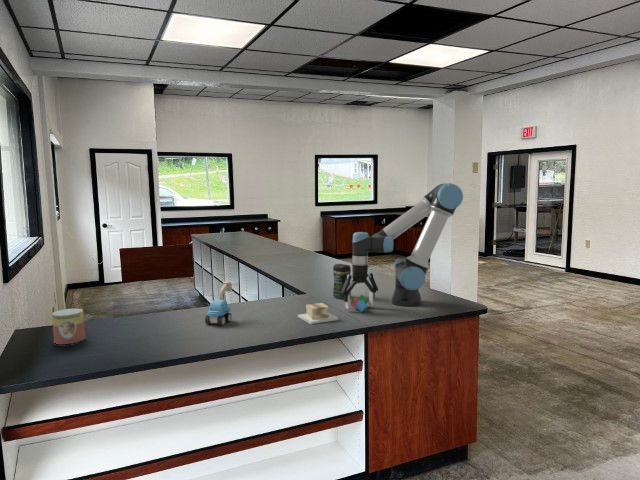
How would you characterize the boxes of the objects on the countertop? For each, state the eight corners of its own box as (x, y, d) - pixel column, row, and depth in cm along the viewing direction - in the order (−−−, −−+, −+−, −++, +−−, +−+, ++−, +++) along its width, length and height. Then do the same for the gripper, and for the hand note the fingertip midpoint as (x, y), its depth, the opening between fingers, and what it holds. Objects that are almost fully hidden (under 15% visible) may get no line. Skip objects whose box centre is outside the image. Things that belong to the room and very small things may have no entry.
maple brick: (322, 313, 226) (322, 302, 226) (328, 317, 219) (328, 306, 218) (306, 315, 223) (306, 304, 223) (312, 319, 216) (312, 308, 215)
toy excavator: (239, 317, 226) (238, 281, 224) (220, 327, 210) (219, 288, 208) (223, 315, 229) (221, 280, 227) (203, 325, 213) (202, 287, 211)
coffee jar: (330, 297, 263) (330, 263, 260) (341, 295, 268) (341, 262, 266) (342, 300, 255) (342, 266, 253) (353, 297, 260) (353, 264, 258)
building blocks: (361, 318, 238) (361, 309, 227) (350, 307, 241) (349, 298, 231) (373, 307, 240) (372, 298, 229) (361, 296, 243) (361, 287, 233)
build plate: (324, 312, 231) (324, 310, 231) (338, 319, 218) (338, 317, 218) (297, 316, 224) (297, 314, 224) (310, 324, 212) (310, 322, 212)
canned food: (52, 346, 187) (50, 316, 185) (55, 338, 197) (53, 310, 196) (84, 342, 191) (82, 313, 190) (86, 334, 201) (84, 307, 200)
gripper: (377, 261, 242) (376, 302, 244) (333, 264, 230) (333, 307, 233) (385, 263, 235) (384, 305, 237) (341, 267, 224) (341, 311, 226)
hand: (359, 306), depth 235 cm, fingers open, 13 cm apart
